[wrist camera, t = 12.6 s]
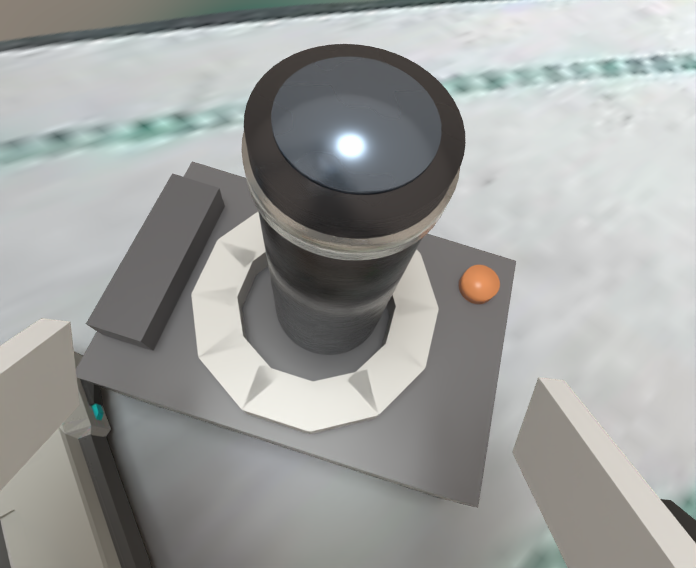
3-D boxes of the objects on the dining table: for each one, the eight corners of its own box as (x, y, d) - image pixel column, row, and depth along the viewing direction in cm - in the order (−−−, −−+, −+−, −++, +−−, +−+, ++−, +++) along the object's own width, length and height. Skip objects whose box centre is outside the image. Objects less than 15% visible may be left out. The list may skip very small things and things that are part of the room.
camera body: (118, 393, 23) (52, 367, 17) (210, 211, 28) (184, 140, 22) (442, 498, 23) (493, 511, 16) (480, 295, 27) (530, 246, 21)
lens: (256, 339, 20) (195, 179, 9) (293, 241, 22) (282, 10, 11) (367, 372, 20) (451, 254, 9) (394, 271, 22) (489, 70, 11)
